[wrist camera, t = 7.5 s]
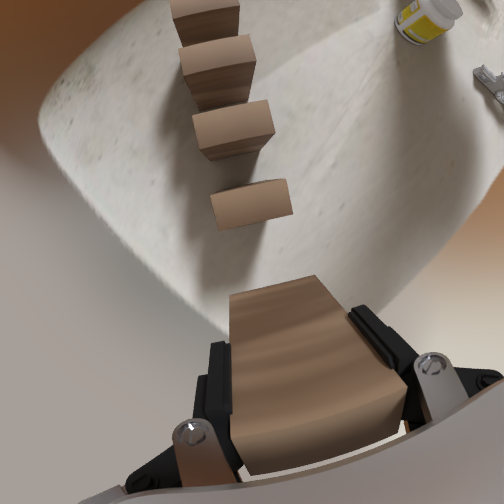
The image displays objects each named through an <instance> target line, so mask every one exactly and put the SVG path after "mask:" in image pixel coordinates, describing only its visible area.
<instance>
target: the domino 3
mask: <svg viewBox="0 0 504 504" xmlns="http://www.w3.org/2000/svg"><path fill="white" fill-rule="evenodd" d="M192 118H193V123H194V128H195V132H196V137H197V141H198V146H199V150H200V151H201V152H202V153H203V154H204V155H205V156H206V157H207V158H208V159H209V160H210V161H214V160H218V159H223V158H227V157H231V156H236V155H240V154H245V153H249V152H254V151H259V150H261V149H262V148H263V146H264V145H265V144H266V143H267V142H268V141H269V140H270V139H271V137H272V136H273V135H274V134H275V129H274V125H273V121H272V116H271V112H270V109H269V105H268V101H267V100H261V101H256V102H250V103H245V104H240V105H235V106H230V107H225V108H221V109H216V110H212V111H208V112H204V113H200V114H196V115H192Z"/></svg>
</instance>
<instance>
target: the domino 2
mask: <svg viewBox="0 0 504 504" xmlns="http://www.w3.org/2000/svg"><path fill="white" fill-rule="evenodd" d="M178 51H179V56H180V61H181V66H182V71H183V76H184V78H185V80H186V83H187V85H188V87H189V89H190V91H191V93H192V96H193V98H194V100H195V102H196V104H197V107H198V109H199V111H201V110H205V109H209V108H214V107H218V106H222V105H227V104H232V103H237V102H242V101H247V100H248V98H249V94H250V89H251V84H252V79H253V74H254V70H255V65H256V57H255V54H254V50H253V47H252V43H251V40H250V37H249V34H248V35H241V36H234V37H229V38H223V39H218V40H213V41H208V42H204V43H199V44H195V45H191V46H187V47H183V48H180V49H178Z"/></svg>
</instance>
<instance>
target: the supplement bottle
mask: <svg viewBox="0 0 504 504" xmlns="http://www.w3.org/2000/svg"><path fill="white" fill-rule="evenodd" d="M462 15H463V12H462V9H461V7H460V5H459V4H458V2H457V1H456V0H415V1H414V2H412V3H411V4H410V5H409V6H407V7H406V8H405V9H404V10H403V11H401V12H400V13H399V14H398V15H397V16H396V18H395V24H396V27H397V29H398V30H399V32H400V33H401V34H402V35H403V36H404V37H405V38H406V39H407V40H408V41H410V42H412V43H414V44H417V45H422V44H425V43H427V42H429V41H430V40H432V39H434V38H435V37H437V36H439V35H440V34H442V33H444V32H446V31H448V30H449V29H451V28H452V27H453V26H454V20H455V19H458V18H459V17H461V16H462Z"/></svg>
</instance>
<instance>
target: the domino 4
mask: <svg viewBox="0 0 504 504" xmlns="http://www.w3.org/2000/svg"><path fill="white" fill-rule="evenodd" d="M210 197H211V202H212V206H213V210H214V214H215V218H216V222H217V226H218V230H219V231H222V230H227V229H231V228H235V227H239V226H244V225H248V224H252V223H256V222H261V221H265V220H270V219H274V218H278V217H283V216H287V215H292V214H293V211H292V206H291V201H290V196H289V191H288V186H287V182H286V179H273V180H265V181H260V182H255V183H251V184H246V185H242V186H238V187H233V188H229V189H225V190H221V191H217V192H215V193H214V194H212V195H210Z"/></svg>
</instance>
